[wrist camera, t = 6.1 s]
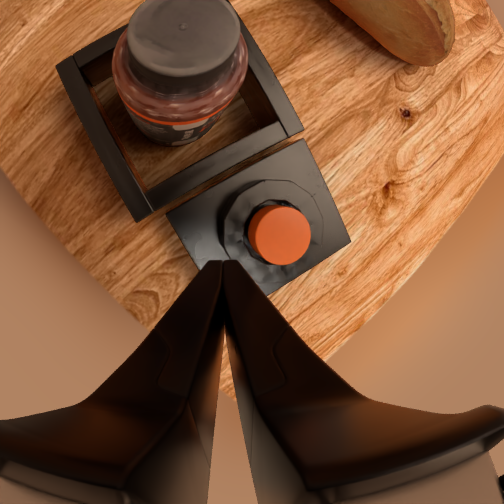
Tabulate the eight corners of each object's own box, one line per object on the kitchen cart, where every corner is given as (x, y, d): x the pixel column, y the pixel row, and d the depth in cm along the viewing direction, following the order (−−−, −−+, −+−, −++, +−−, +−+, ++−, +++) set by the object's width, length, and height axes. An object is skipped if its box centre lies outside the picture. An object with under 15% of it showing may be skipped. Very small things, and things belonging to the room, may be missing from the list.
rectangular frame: (142, 216, 20) (136, 223, 17) (72, 84, 17) (54, 65, 13) (282, 138, 22) (305, 129, 18) (211, 15, 18) (219, -13, 14)
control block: (224, 307, 23) (235, 330, 19) (165, 211, 21) (164, 217, 17) (337, 237, 24) (365, 246, 20) (291, 141, 22) (315, 133, 18)
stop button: (263, 268, 19) (272, 276, 18) (237, 222, 18) (244, 225, 17) (307, 241, 20) (320, 246, 18) (284, 194, 19) (295, 196, 17)
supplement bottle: (208, 155, 21) (247, 124, 10) (121, 139, 19) (72, 94, 8) (228, 75, 20) (282, -11, 9) (145, 59, 18) (131, -40, 7)
